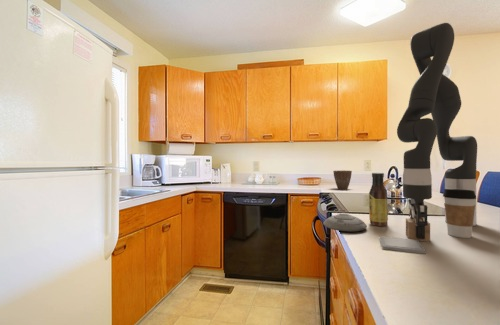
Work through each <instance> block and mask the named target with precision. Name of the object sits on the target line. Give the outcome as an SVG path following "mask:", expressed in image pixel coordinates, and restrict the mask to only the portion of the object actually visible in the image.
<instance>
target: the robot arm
mask: <svg viewBox="0 0 500 325" xmlns="http://www.w3.org/2000/svg"><path fill="white" fill-rule="evenodd" d="M454 43H455V31H454V28H453V25H451V23H449V22H442V23H440V24H436V25H434V26H431V27H429V28H426V29H422V30H420V31H418V32H416V33H414V34H412V36H411V38H410V44H409V45H410V51H411V55H412V57H413V60H414V63H415V65H416V68H417V71H418V73H419V75H420V76H419V77H418V78H417V79H416V80H415V82H414V84H413V86H412V88H411V91H410V95H409V100H408V106H407V107H406V110H404V113H403V115H402V117H401V119H400V121H399V122H398V126H397V129H396V135H397V137H398V139H399V141H400V142H403V143H409V144H410V143H417V144H416V146H415V147H414V148H411V149H409V150H405V151H404V153H403V171H402V172H403V173H402V196H403V197H404V198H406V199H408V200H407V201H408V217H409V218H408V219H415V225H416V238H417V239H425V227H426V226H427V225H428V223H427V221H428V205H426V204H425V203H424V202H425V200H430V199H432V197H433V195H432V192H433V191H432V190H433V188H432V186H433V184H432V172H431V171H432V170H431V155H432V150H433V147H434V144H435V142H436V140H437V145H438V146H437V147H438V150H439V155H440V156H441V158H442V160H443V161H451V162H453V161H455V162H456V161H459V162H461V161H462V163H461V165H459V166H457V167H455V168H451V169H447V170H445V172H444V189H462V190H472V191H475V195H476V196H477V162H478V161H477V156H478V143H477V139H476V138H475V136H472V135H465V136H450V129H451V127H452V124H453V122H454V120H455V118H456V117H457V116H458V114H459V112H460V110H461V107H462V100H461V95H460V90H459V87H458V86H457V84H456V83H455V82H454V81H453V80H451V79H450V78H449V77H447V76H446V75H445V74H444V71H445V69H446V66H447V64H448V61H449V59H450V55H451V53H452V50H453V47H454ZM427 115H431V117H432V118H429V117H427ZM425 116H426V117H425ZM423 117H424V118H423ZM474 205H475V211H474V220H473V227H475V226H478V225H477V223H478V222H477V220H478V219H477V211H478V210H477V208H478V207H477V198H476V199H475V203H474ZM444 215H445V217H444V220H445V221H444V222H445V223H447V221H446V214H444ZM419 219H421V220H422V221H419Z"/></svg>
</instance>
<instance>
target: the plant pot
mask: <svg viewBox="0 0 500 325" xmlns="http://www.w3.org/2000/svg"><path fill="white" fill-rule="evenodd" d="M352 172H353V171H352V170H333V172H332V173H333V178H334V182H335V185H336V187H337V189H338V190H340V191H346V190H349V186H350V182H351V179H352Z"/></svg>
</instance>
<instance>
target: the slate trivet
mask: <svg viewBox="0 0 500 325" xmlns="http://www.w3.org/2000/svg"><path fill="white" fill-rule="evenodd" d="M379 240H380V246H381V249H382V250H388V251H389V250H390V251H395V252H396V251H397V252H406V253H413V254H415V253H416V254H425V255H426V250H425V248H424V247H423V245H422V244H421V242H420V241H418V240H416V239H408V238H404V237H403V238H402V237H394V236H392V237H391V236H381V235H380V236H379Z"/></svg>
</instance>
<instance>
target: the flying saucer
mask: <svg viewBox="0 0 500 325" xmlns="http://www.w3.org/2000/svg"><path fill="white" fill-rule="evenodd" d="M322 225H323V226H324V227H326V228H327V229H330V230H334V231H337V232H338V231H340V232H359V231H360V232H361V231H363V230H366V229H367V227H368V226H367V224H366V223H365V221H363V220H362V219H361V218H360V217H357V216H353V215H351V214H347V213H339V214H338V213H337V214H335V215H331V216H329V217H328V218H326V219H325V220H324V221H323V223H322Z"/></svg>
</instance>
